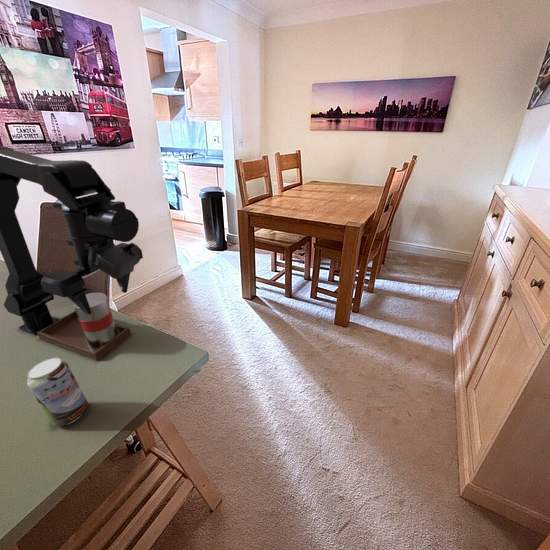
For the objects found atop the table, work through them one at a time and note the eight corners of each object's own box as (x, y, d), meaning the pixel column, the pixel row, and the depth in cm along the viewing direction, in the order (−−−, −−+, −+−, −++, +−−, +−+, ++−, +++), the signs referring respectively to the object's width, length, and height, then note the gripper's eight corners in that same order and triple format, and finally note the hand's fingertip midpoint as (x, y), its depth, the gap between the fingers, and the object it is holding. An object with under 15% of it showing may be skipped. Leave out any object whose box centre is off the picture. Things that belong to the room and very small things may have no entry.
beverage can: (72, 433, 53) (50, 385, 48) (37, 425, 54) (11, 377, 49) (97, 404, 59) (80, 357, 53) (65, 397, 60) (45, 351, 54)
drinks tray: (39, 339, 75) (36, 332, 74) (77, 316, 83) (74, 310, 82) (97, 360, 69) (94, 353, 68) (131, 334, 77) (129, 327, 76)
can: (81, 346, 72) (65, 304, 66) (104, 329, 78) (92, 290, 72) (102, 353, 70) (88, 311, 64) (124, 336, 76) (113, 296, 70)
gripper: (72, 259, 46) (98, 338, 54) (156, 224, 62) (167, 289, 69) (24, 247, 50) (54, 323, 57) (115, 217, 65) (130, 280, 73)
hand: (107, 302), depth 64 cm, fingers open, 9 cm apart
